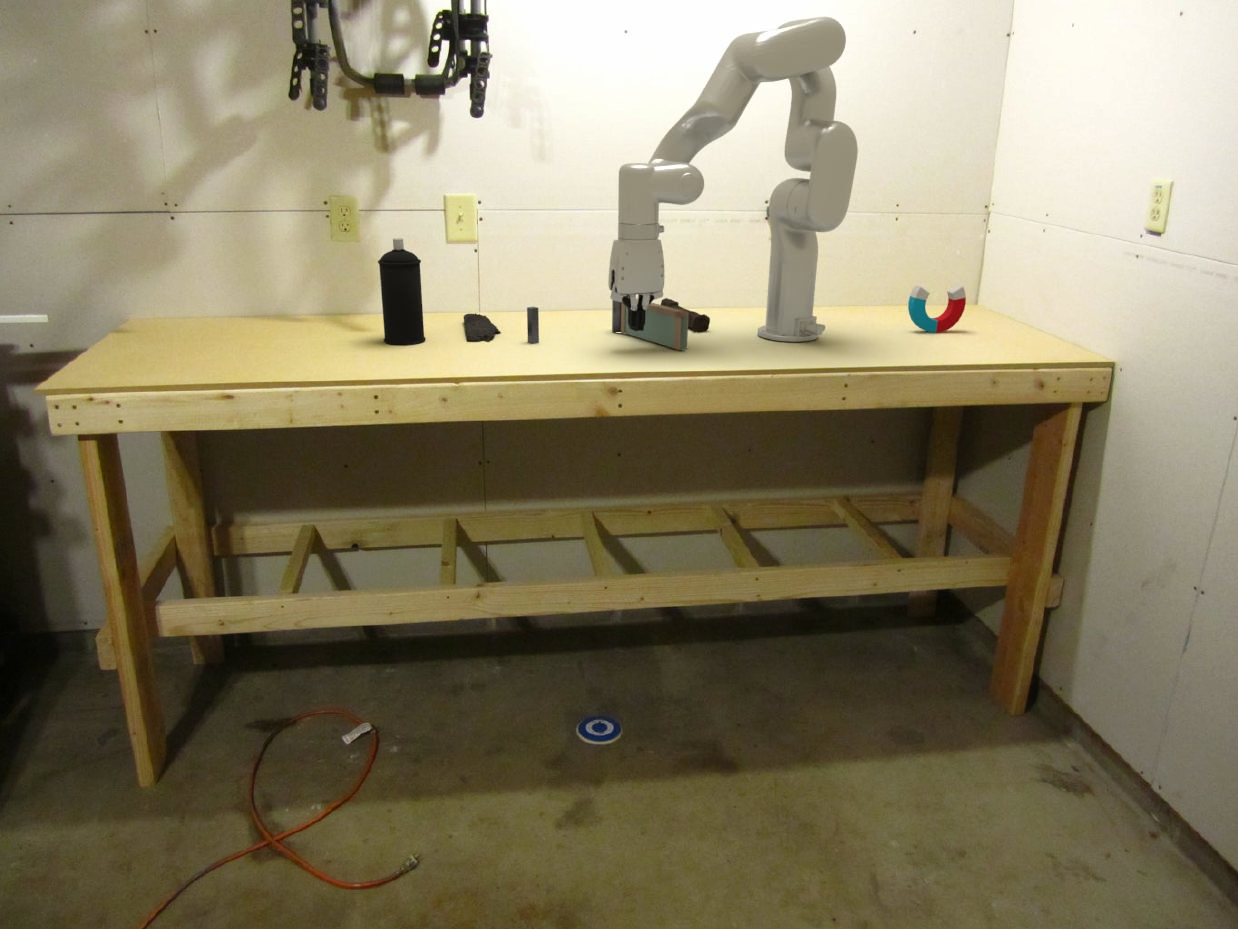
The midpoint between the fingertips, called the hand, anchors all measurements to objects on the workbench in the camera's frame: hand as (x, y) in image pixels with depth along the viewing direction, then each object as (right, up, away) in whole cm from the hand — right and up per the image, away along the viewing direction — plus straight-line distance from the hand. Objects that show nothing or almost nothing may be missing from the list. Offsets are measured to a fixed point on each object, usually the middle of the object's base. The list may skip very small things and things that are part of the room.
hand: (636, 329), depth 182 cm
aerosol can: (-46, -2, +6) cm, 47 cm away
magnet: (+65, +2, +21) cm, 68 cm away
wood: (-32, +2, +16) cm, 36 cm away
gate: (+3, -1, +8) cm, 9 cm away
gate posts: (-11, 0, +11) cm, 16 cm away
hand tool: (+10, +4, +25) cm, 28 cm away
